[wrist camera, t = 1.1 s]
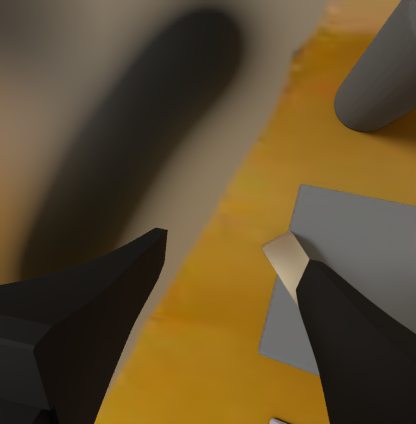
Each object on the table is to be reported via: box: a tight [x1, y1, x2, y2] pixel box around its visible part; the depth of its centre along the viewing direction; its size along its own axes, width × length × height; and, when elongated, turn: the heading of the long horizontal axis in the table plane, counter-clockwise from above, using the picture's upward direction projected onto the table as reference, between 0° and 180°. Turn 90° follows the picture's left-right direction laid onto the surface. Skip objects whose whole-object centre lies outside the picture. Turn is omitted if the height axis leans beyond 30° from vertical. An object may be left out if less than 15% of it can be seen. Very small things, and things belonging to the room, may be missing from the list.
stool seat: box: [259, 184, 416, 376], centre depth 21 cm, size 18×14×1 cm
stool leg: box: [262, 231, 309, 306], centre depth 19 cm, size 16×3×2 cm, turn 32°
